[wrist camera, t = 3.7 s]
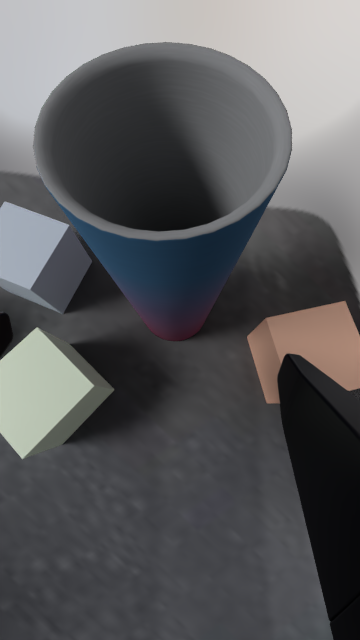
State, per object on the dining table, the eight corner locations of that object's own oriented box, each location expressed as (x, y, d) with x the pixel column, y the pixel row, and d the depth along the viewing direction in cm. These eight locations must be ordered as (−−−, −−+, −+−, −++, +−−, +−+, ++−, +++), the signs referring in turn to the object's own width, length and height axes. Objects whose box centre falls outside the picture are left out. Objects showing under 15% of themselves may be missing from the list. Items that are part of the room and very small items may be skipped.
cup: (114, 320, 21) (-25, 153, 7) (165, 256, 23) (138, 13, 9) (186, 370, 20) (199, 295, 6) (234, 299, 22) (337, 103, 7)
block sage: (115, 389, 20) (94, 385, 15) (62, 444, 19) (22, 459, 14) (69, 344, 21) (37, 327, 16) (17, 393, 20) (-34, 391, 15)
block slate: (92, 261, 23) (69, 225, 18) (63, 314, 22) (29, 289, 17) (40, 242, 23) (4, 201, 19) (9, 292, 22) (-39, 262, 17)
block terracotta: (332, 387, 20) (379, 383, 15) (266, 403, 20) (293, 403, 15) (308, 323, 21) (345, 300, 17) (246, 336, 21) (266, 317, 16)
